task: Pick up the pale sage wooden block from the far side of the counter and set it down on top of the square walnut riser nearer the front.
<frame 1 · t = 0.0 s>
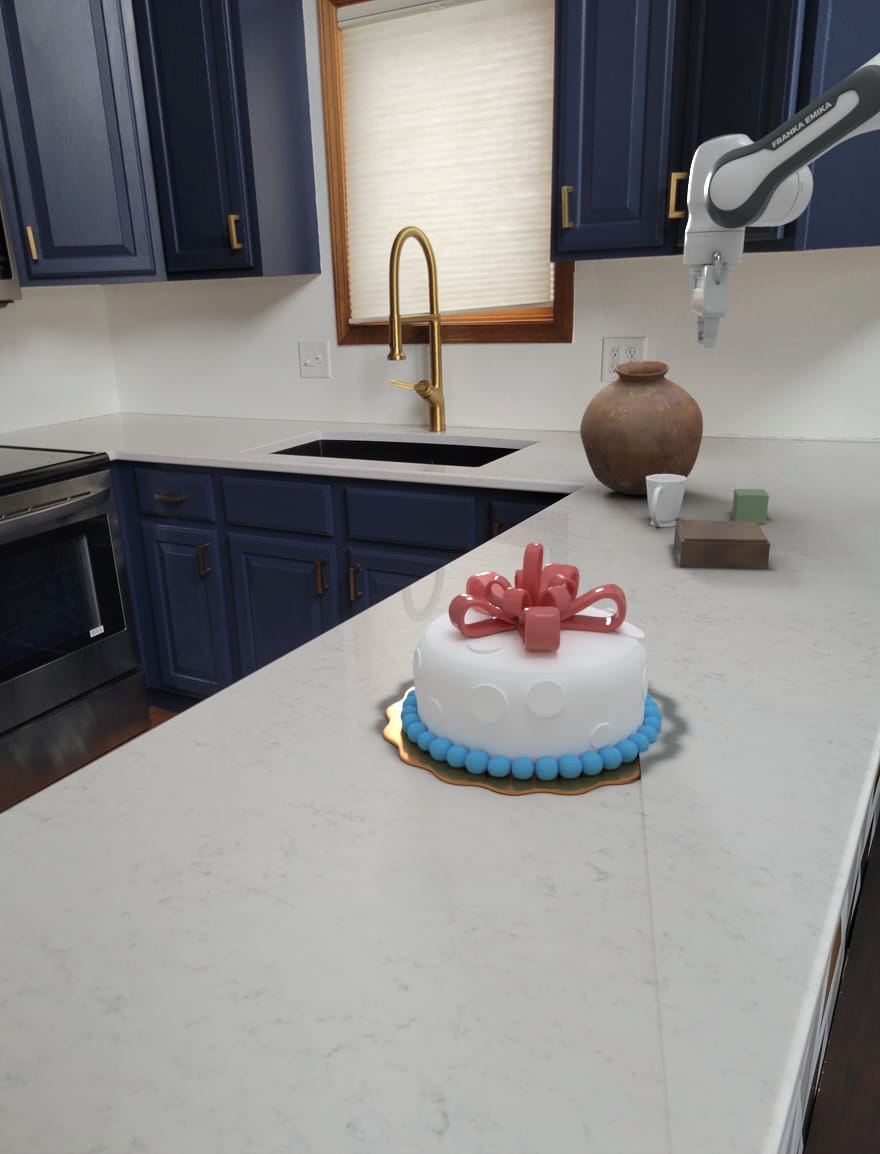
hand: (705, 345, 154), 29 cm above the worktop, tool pointing down, fingers open, 8 cm apart
pottery: (637, 494, 189), on the worktop
block: (748, 520, 165), on the worktop
riser: (717, 562, 142), on the worktop
cup: (660, 527, 164), on the worktop
wedding cake: (528, 724, 93), on the worktop
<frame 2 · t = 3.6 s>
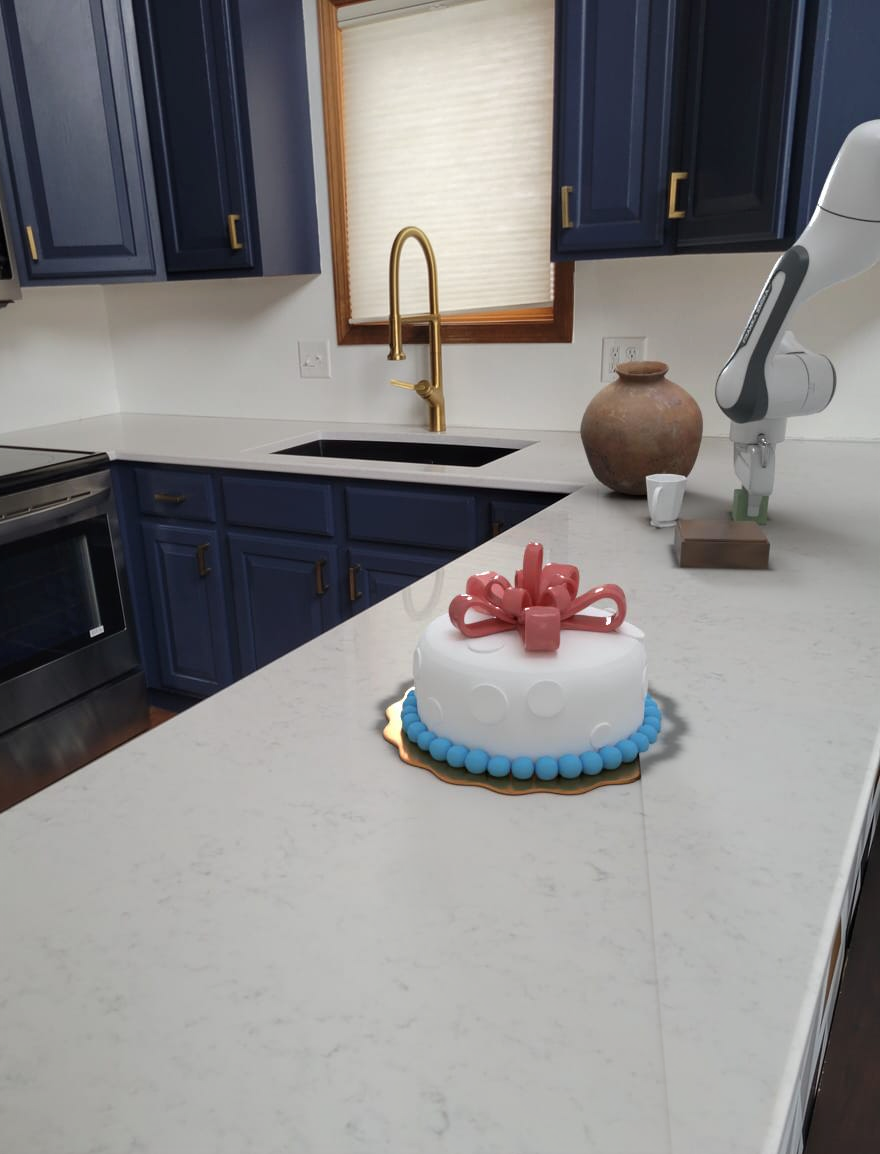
hand: (749, 511, 165), 2 cm above the worktop, tool pointing down, fingers closed on block, 5 cm apart
block: (748, 520, 165), on the worktop, touching gripper
everything else where it was.
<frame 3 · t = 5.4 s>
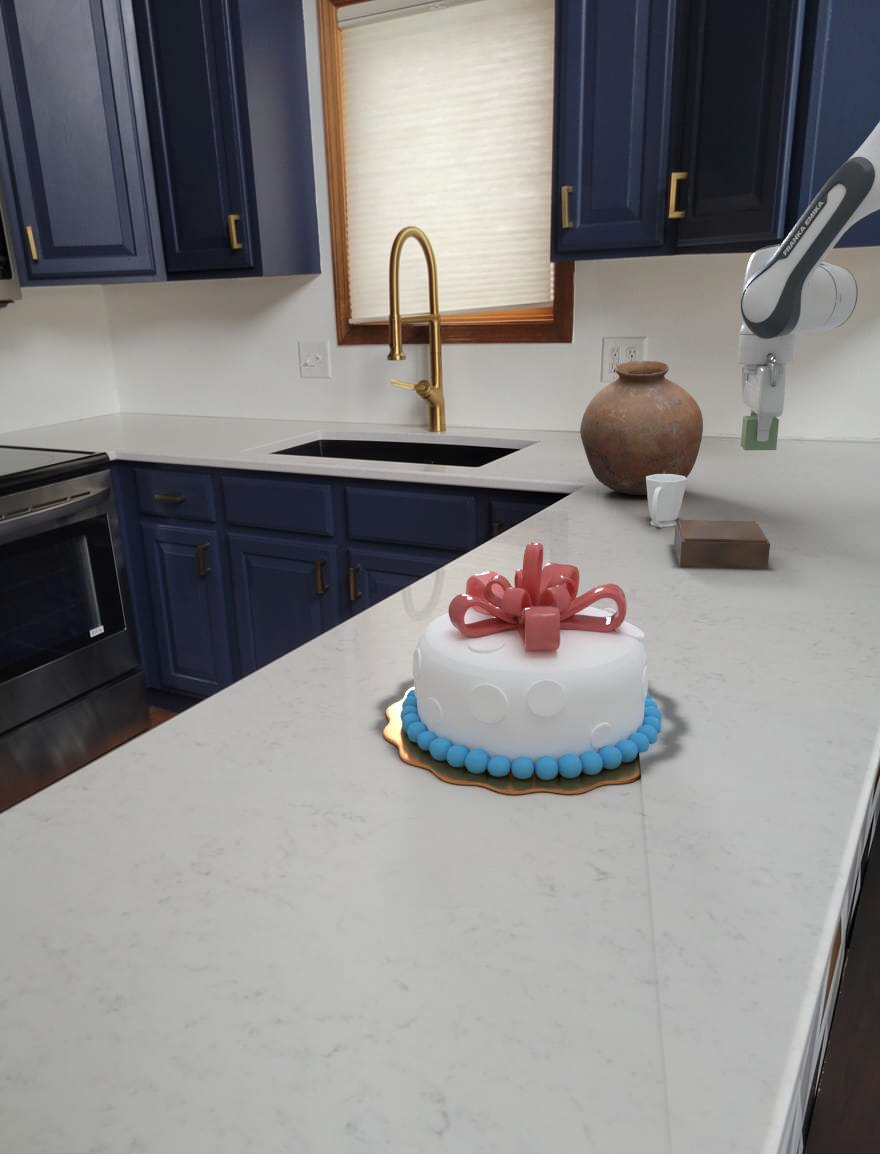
hand: (759, 438, 160), 14 cm above the worktop, tool pointing down, fingers closed on block, 5 cm apart
block: (758, 447, 161), point 13 cm above the worktop, touching gripper
everything else where it was.
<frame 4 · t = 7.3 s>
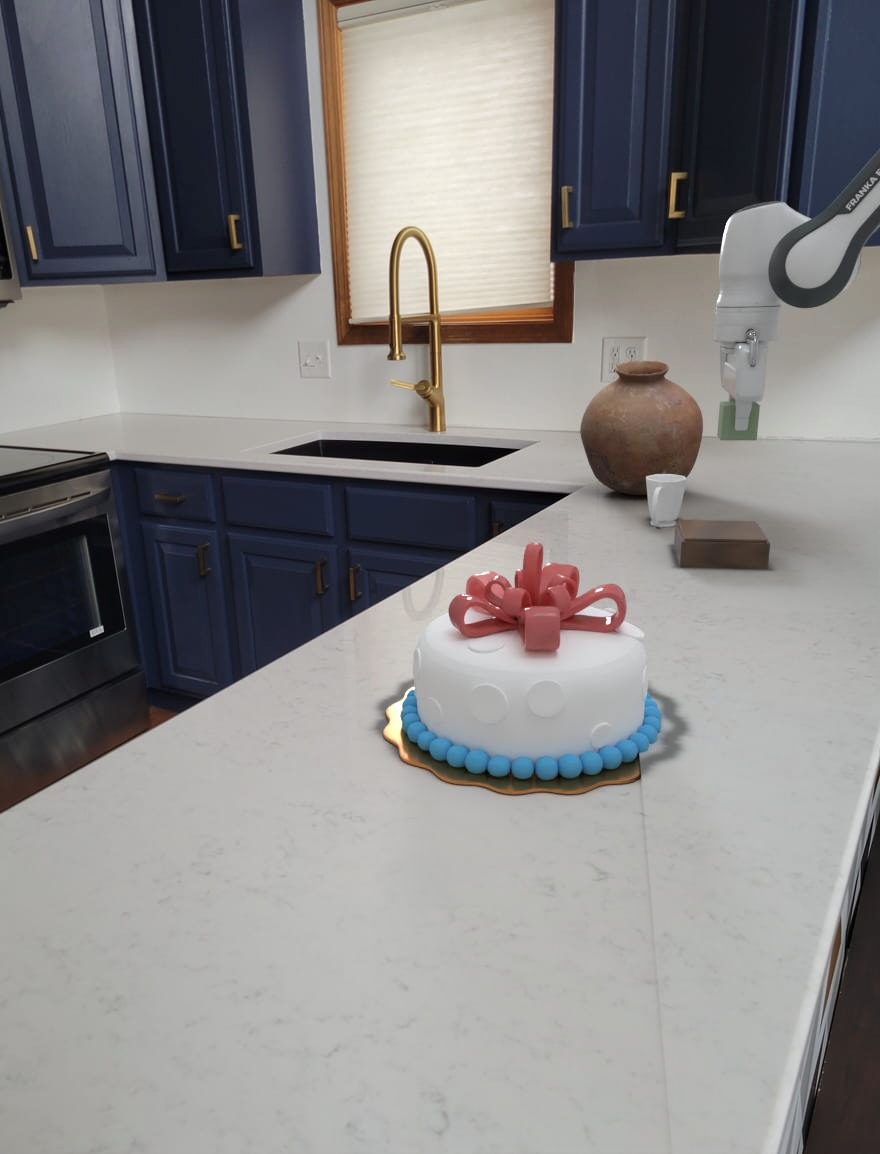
hand: (737, 426, 141), 19 cm above the worktop, tool pointing down, fingers closed on block, 5 cm apart
block: (736, 437, 141), point 17 cm above the worktop, touching gripper
everything else where it was.
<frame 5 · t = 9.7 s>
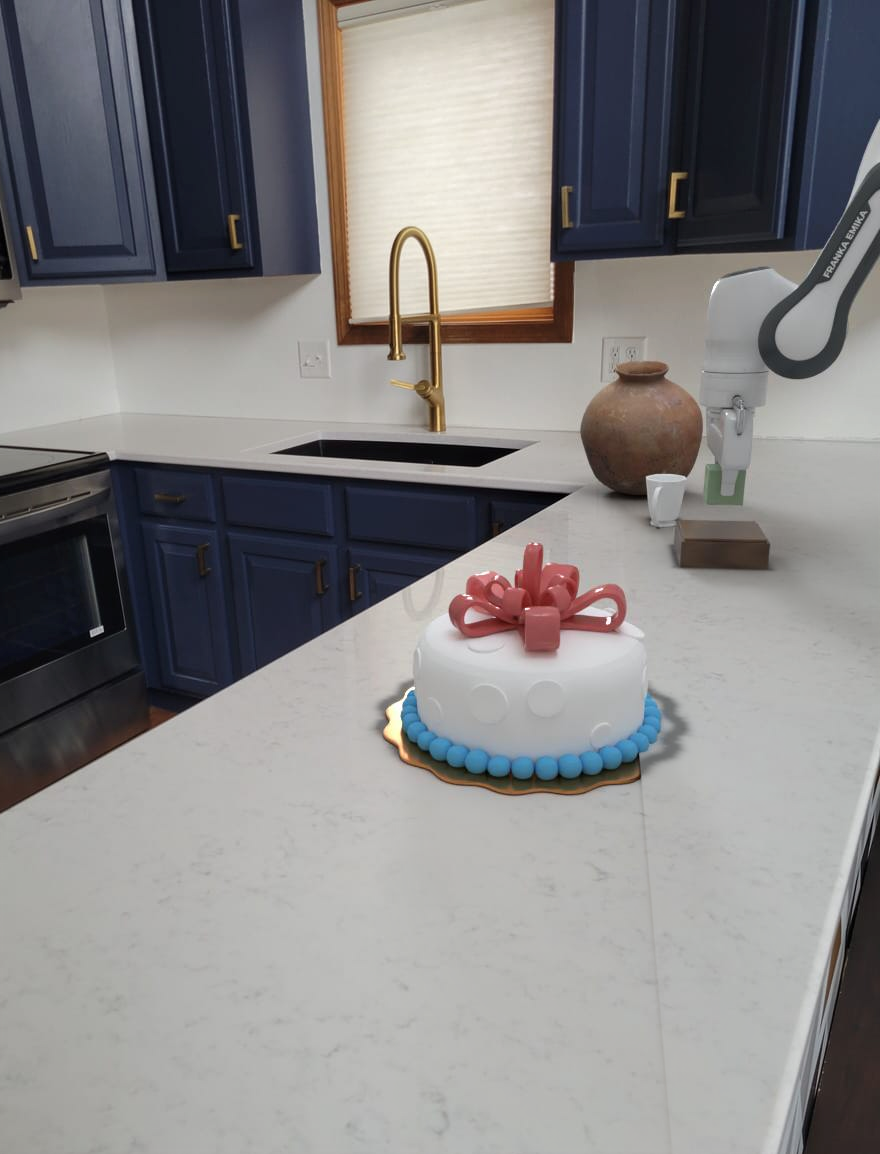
hand: (723, 490, 138), 11 cm above the worktop, tool pointing down, fingers closed on block, 5 cm apart
block: (722, 501, 139), point 9 cm above the worktop, touching gripper
everything else where it was.
when the fingers open (6 cm above the worktop, at t = 11.2 s): block stays where it is, resting on riser.
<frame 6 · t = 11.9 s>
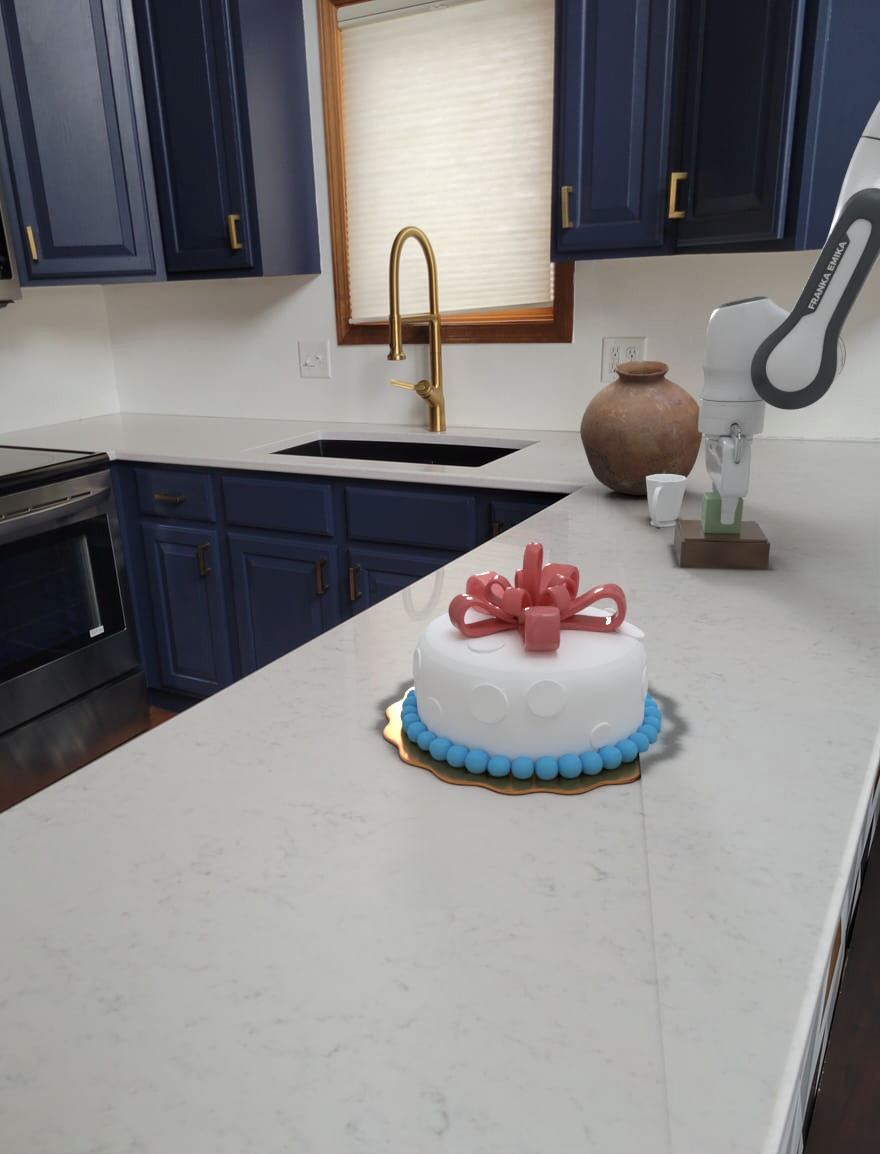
hand: (722, 515, 140), 7 cm above the worktop, tool pointing down, fingers open, 8 cm apart
block: (720, 529, 140), point 5 cm above the worktop, touching riser
everything else where it was.
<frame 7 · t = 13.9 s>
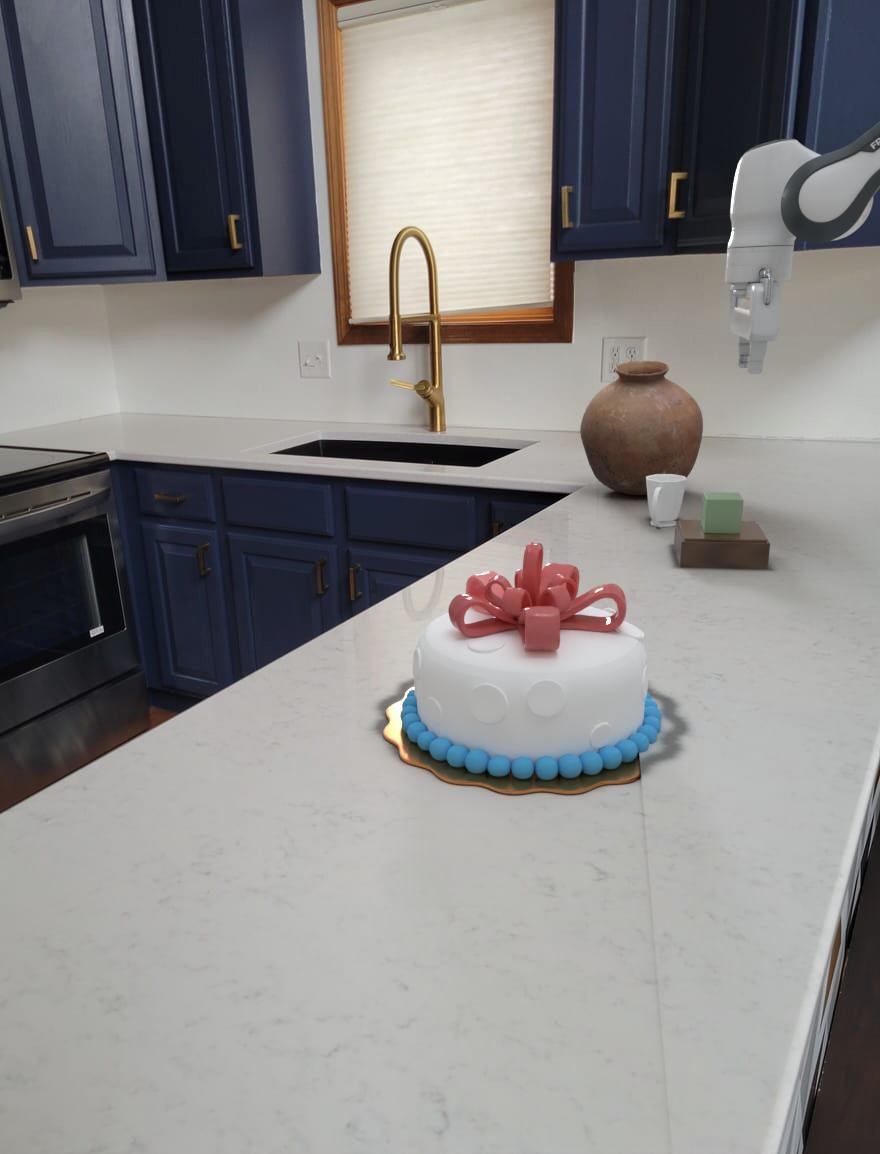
hand: (749, 370, 140), 27 cm above the worktop, tool pointing down, fingers open, 8 cm apart
nothing on the worktop moved.
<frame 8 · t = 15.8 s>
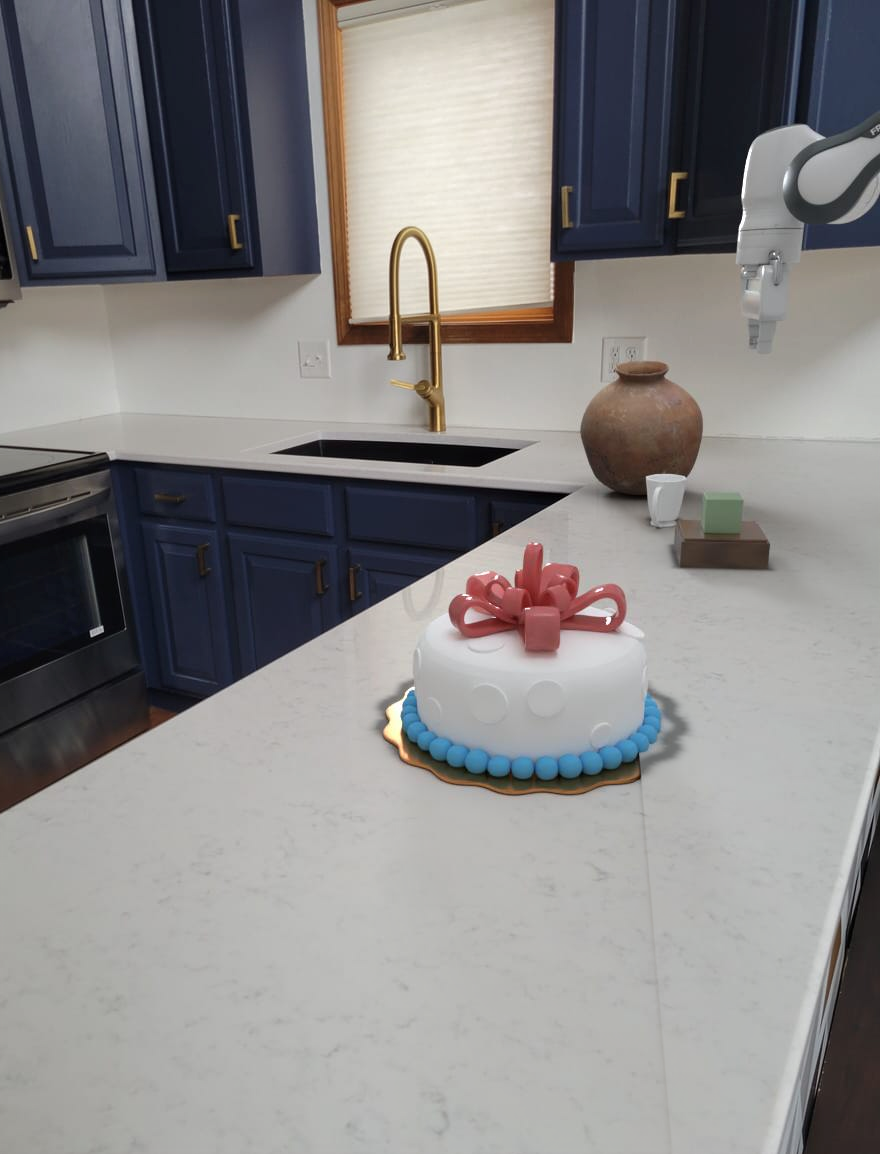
hand: (758, 351, 144), 29 cm above the worktop, tool pointing down, fingers open, 8 cm apart
nothing on the worktop moved.
at the end: block inside the target area on the riser (0.1 cm from its centre), point 5.0 cm above the riser's base; block tilted 0°; the gripper is holding nothing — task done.
